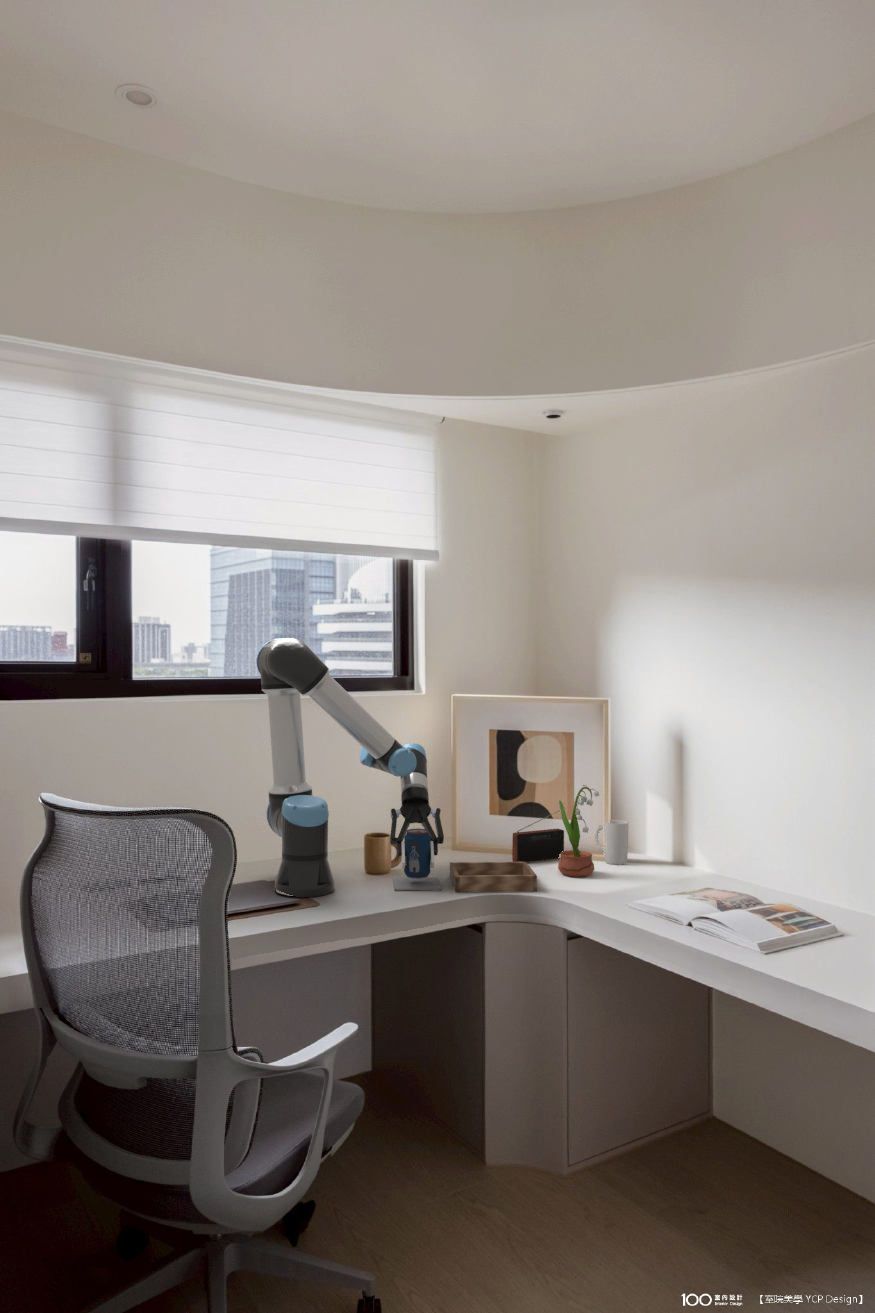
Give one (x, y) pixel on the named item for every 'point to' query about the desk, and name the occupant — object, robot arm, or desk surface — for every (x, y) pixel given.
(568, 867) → the potted flower
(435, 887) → the grey mat
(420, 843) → the soda can
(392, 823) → the robot arm
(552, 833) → the radio
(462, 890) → the walnut crate
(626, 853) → the mug
